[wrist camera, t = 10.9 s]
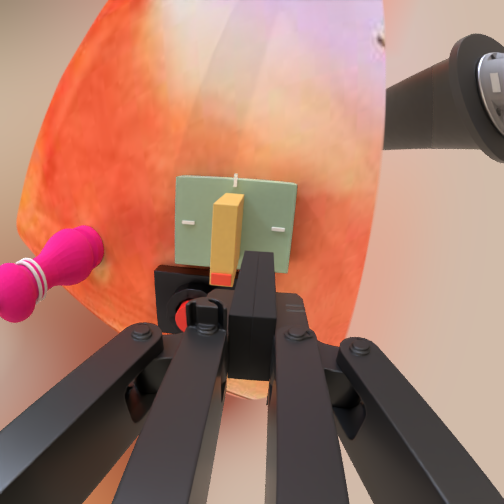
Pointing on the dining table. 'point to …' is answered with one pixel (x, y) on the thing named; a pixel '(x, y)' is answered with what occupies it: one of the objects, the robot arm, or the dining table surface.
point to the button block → (180, 291)
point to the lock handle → (226, 238)
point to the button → (181, 316)
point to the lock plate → (253, 223)
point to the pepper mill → (48, 270)
